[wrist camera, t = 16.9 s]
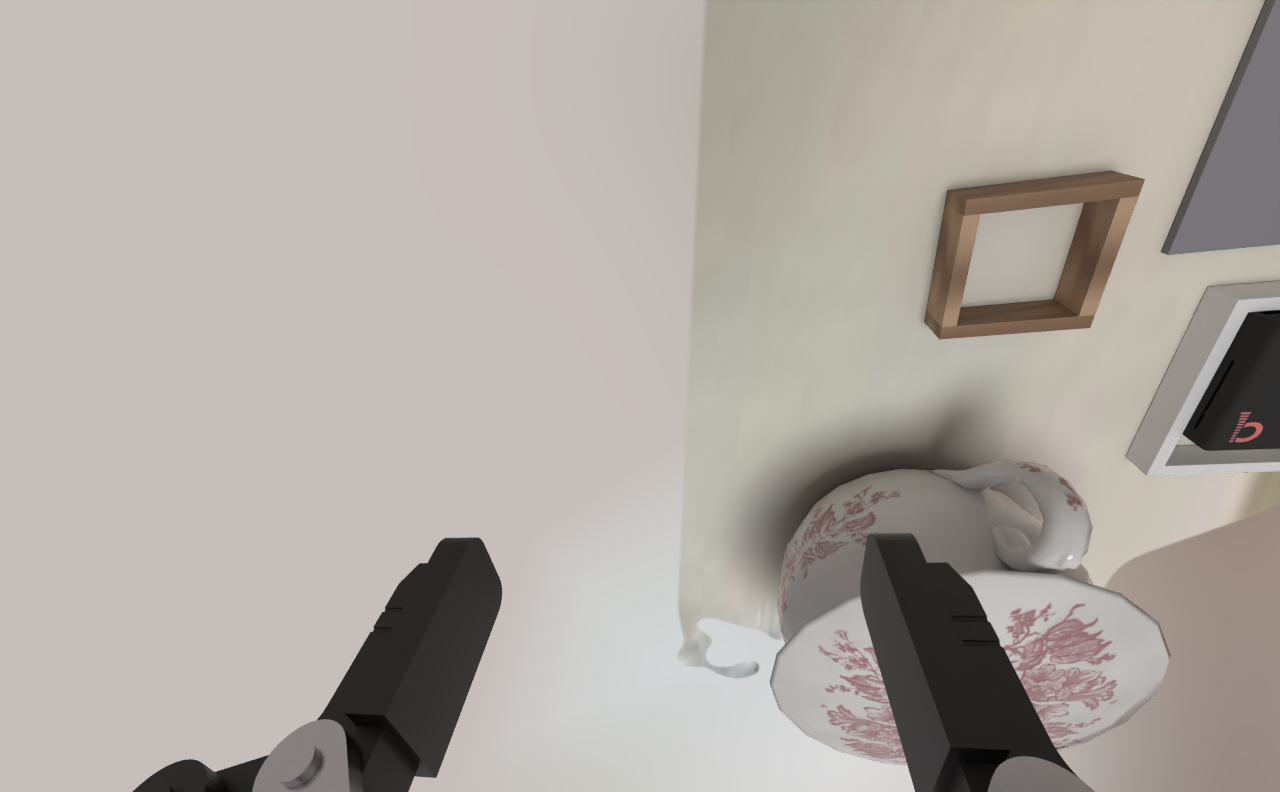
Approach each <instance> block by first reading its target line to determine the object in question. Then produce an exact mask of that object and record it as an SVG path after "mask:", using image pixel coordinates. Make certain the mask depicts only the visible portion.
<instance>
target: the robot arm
mask: <svg viewBox="0 0 1280 792" xmlns="http://www.w3.org/2000/svg"><path fill="white" fill-rule="evenodd" d="M860 595H861V603H862V609H863V613H864V617H865V620H866V624H867V627H868V631H869V634H870V638H871V641H872V645H873V648H874V651H875V655H876V658H877V662H878V665H879V669H880V672H881V675H882V679H883V682H884V686H885V689H886V693H887V696H888V699H889V703H890V706H891V710H892V713H893V717H894V720H895V724H896V727H897V730H898V734H899V737H900V741H901V744H902V748H903V751H904V754H905V758H906V761H907V765H908V768H909V772H910V775H911V778H912V782H913V785H914V789H915V792H1095V791H1093V790H1092V789H1091V788H1090V787H1089V786H1088V785H1087V784H1086V783H1084V782H1083V781H1082V780H1081V779H1080V778H1078V776H1077V775H1076V774H1075V773H1074V772H1073V771H1072V770H1071V769H1070V768H1069V766H1068V765H1067V764H1066V763H1065V761H1064V760H1063V759H1062V757H1061V756H1060V755H1059V753H1058V752H1057V750H1056V748H1055V746H1054V745H1053V743H1052V741H1051V739H1050V737H1049V735H1048V733H1047V731H1046V729H1045V728H1044V726H1043V724H1042V722H1041V720H1040V718H1039V716H1038V714H1037V712H1036V710H1035V708H1034V706H1033V704H1032V702H1031V700H1030V698H1029V696H1028V694H1027V693H1026V691H1025V689H1024V687H1023V685H1022V683H1021V681H1020V679H1019V677H1018V675H1017V673H1016V671H1015V669H1014V667H1013V665H1012V663H1011V661H1010V659H1009V658H1008V656H1007V654H1006V652H1005V650H1004V648H1003V647H1001V645H1000V640H999V638H998V636H997V634H996V632H995V630H994V628H993V626H992V624H991V623H990V622H988V620H987V615H986V613H985V611H984V609H983V607H982V605H981V603H980V601H979V599H978V597H977V595H976V593H975V591H974V589H973V588H972V586H971V585H970V584H969V583H968V582H967V581H966V580H965V579H964V578H963V577H962V576H960V575H959V574H958V573H957V572H956V571H955V570H954V569H953V568H952V567H951V566H950V565H949V564H948V563H947V562H941V563H927V561H926V559H925V557H924V555H923V552H922V550H921V548H920V546H919V544H918V542H917V540H916V538H915V536H914V535H913V534H911V533H872V534H869V535H868V536H867V540H866V547H865V554H864V561H863V567H862V574H861V581H860ZM501 600H502V586H501V581H500V578H499V576H498V574H497V572H496V569H495V567H494V565H493V563H492V561H491V558H490V556H489V554H488V552H487V550H486V547H485V545H484V543H483V542H482V540H481V539H480V538H445V539H443V540H442V541H440V543H439V544H438V545H437V547H436V549H435V551H434V552H433V554H432V556H431V558H430V560H429V562H428V563H424V564H423V563H420V564H419V565H417V566H416V568H414V569H413V571H411V572H410V573H409V574H408V576H407V577H405V579H404V580H402V581H401V582H400V583H399V585H398V586H397V588H396V590H395V592H394V593H393V595H392V597H391V598H390V600H389V602H388V603H387V605H386V607H385V612H382V614H381V615H380V617H379V619H378V620H377V622H376V624H375V625H374V631H373V632H370V634H369V636H368V638H367V639H366V641H365V642H364V644H363V646H362V648H361V649H360V651H359V653H358V654H357V656H356V658H355V659H354V661H353V663H352V665H351V666H350V668H349V670H348V672H347V673H346V675H345V677H344V678H343V680H342V682H341V683H340V685H339V687H338V688H337V690H336V692H335V694H334V695H333V697H332V699H331V700H330V702H329V704H328V706H327V707H326V708H325V710H324V712H323V713H322V714H321V716H320V717H319V718H318V720H316V721H313V722H310V723H308V724H306V725H304V726H302V727H300V728H298V729H297V730H295V731H294V732H292V733H291V734H290V735H288V736H287V737H286V738H285V739H284V740H283V741H281V742H280V743H279V744H278V745H277V747H276V748H275V749H274V750H273V751H272V752H271V753H270V755H268V756H264V757H261V758H258V759H255V760H252V761H249V762H246V763H242V764H239V765H236V766H233V767H230V768H227V769H224V770H220V771H217V772H214V771H212V770H211V769H209V768H208V767H207V766H205V765H204V764H203V763H201V762H199V761H197V760H191V759H190V760H182V761H179V762H175V763H173V764H171V765H169V766H167V767H165V768H163V769H161V770H160V771H158V772H156V773H155V774H153V775H152V776H150V777H149V778H148V779H147V780H145V781H144V782H143V783H142V784H141V785H139V786H138V787H137V788H136V789H135V790H134V791H133V792H408V791H409V788H410V786H411V783H412V781H413V778H414V776H419V777H433V778H436V777H437V774H438V772H439V769H440V766H441V764H442V761H443V758H444V756H445V753H446V750H447V748H448V745H449V742H450V739H451V737H452V734H453V732H454V729H455V726H456V723H457V721H458V718H459V716H460V713H461V710H462V708H463V705H464V702H465V700H466V697H467V694H468V692H469V689H470V686H471V684H472V681H473V679H474V676H475V673H476V671H477V667H478V665H479V662H480V660H481V657H482V655H483V652H484V649H485V646H486V644H487V641H488V638H489V636H490V633H491V631H492V628H493V625H494V623H495V620H496V617H497V615H498V612H499V609H500V605H501Z"/></svg>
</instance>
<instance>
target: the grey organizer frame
mask: <svg viewBox="0 0 1280 792" xmlns="http://www.w3.org/2000/svg"><path fill="white" fill-rule="evenodd" d="M1272 310H1280V281H1272V282H1260V283H1248V284H1236V285H1224V286H1213V287H1207V289H1206V291H1205V293H1204V296H1203V298H1202V300H1201V302H1200V304H1199V306H1198V308H1197V310H1196V312H1195V314H1194V316H1193V318H1192V320H1191V322H1190V325H1189V327H1188V329H1187V331H1186V333H1185V335H1184V337H1183V339H1182V341H1181V343H1180V345H1179V347H1178V349H1177V351H1176V354H1175V356H1174V358H1173V360H1172V362H1171V364H1170V366H1169V368H1168V370H1167V372H1166V374H1165V376H1164V378H1163V380H1162V383H1161V385H1160V387H1159V389H1158V391H1157V393H1156V395H1155V397H1154V399H1153V401H1152V403H1151V405H1150V407H1149V409H1148V412H1147V414H1146V416H1145V418H1144V420H1143V422H1142V424H1141V426H1140V428H1139V430H1138V432H1137V434H1136V436H1135V438H1134V440H1133V443H1132V445H1131V447H1130V449H1129V451H1128V453H1127V455H1126V457H1127V458H1128V459H1129V460H1130V461H1131V462H1132V463H1133V464H1134V465H1135V466H1136V467H1138V468H1139V469H1140V470H1141V471H1142V472H1143V473H1144V474H1145V475H1146V476H1147V475H1176V474H1206V473H1236V472H1266V471H1280V449H1255V450H1225V451H1206V450H1203V449H1201V448H1200V447H1199V446H1197V445H1189V446H1176V444H1177V442H1178V441H1179V439H1180V437H1181V435H1182V433H1183V431H1184V430H1185V428H1186V426H1187V424H1188V422H1189V420H1190V419H1191V417H1192V415H1193V413H1194V411H1195V409H1196V408H1197V406H1198V404H1199V402H1200V400H1201V398H1202V396H1203V395H1204V393H1205V391H1206V389H1207V387H1208V385H1209V384H1210V382H1211V380H1212V378H1213V376H1214V374H1215V373H1216V371H1217V369H1218V367H1219V365H1220V363H1221V362H1222V360H1223V358H1224V356H1225V354H1226V352H1227V350H1228V349H1229V347H1230V345H1231V343H1232V341H1233V339H1234V338H1235V336H1236V334H1237V332H1238V330H1239V328H1240V327H1241V325H1242V323H1243V321H1244V319H1245V317H1246V316H1247V314H1248V312H1259V311H1272Z"/></svg>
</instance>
